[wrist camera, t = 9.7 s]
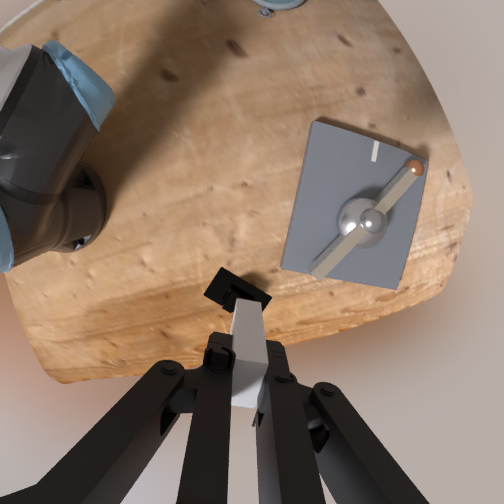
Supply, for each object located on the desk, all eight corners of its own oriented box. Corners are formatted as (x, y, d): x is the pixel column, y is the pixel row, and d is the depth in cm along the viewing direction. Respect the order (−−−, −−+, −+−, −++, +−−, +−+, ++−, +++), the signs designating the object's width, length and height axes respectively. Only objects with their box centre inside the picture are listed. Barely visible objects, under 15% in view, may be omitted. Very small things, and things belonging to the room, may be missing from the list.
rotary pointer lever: (293, 254, 42) (299, 263, 37) (397, 146, 38) (413, 143, 34) (325, 285, 43) (334, 297, 39) (423, 180, 40) (440, 181, 35)
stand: (279, 265, 45) (281, 269, 43) (310, 123, 40) (314, 120, 38) (391, 286, 46) (397, 290, 44) (421, 160, 41) (429, 160, 39)
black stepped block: (193, 292, 46) (188, 304, 42) (216, 255, 45) (213, 263, 40) (259, 329, 48) (260, 343, 44) (284, 295, 47) (288, 307, 42)
